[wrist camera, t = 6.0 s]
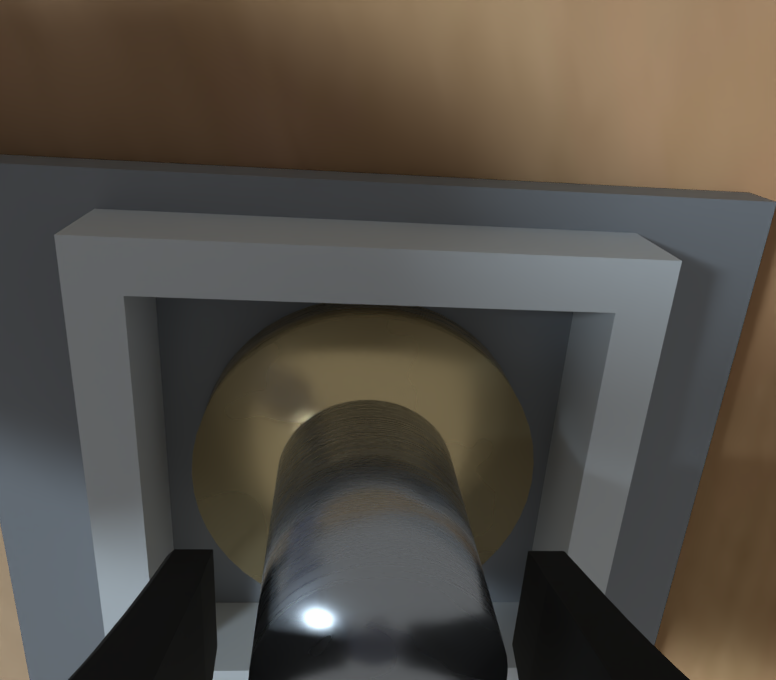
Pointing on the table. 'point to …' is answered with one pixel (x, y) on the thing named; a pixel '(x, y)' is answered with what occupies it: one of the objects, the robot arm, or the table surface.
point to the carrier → (347, 286)
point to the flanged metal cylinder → (365, 492)
